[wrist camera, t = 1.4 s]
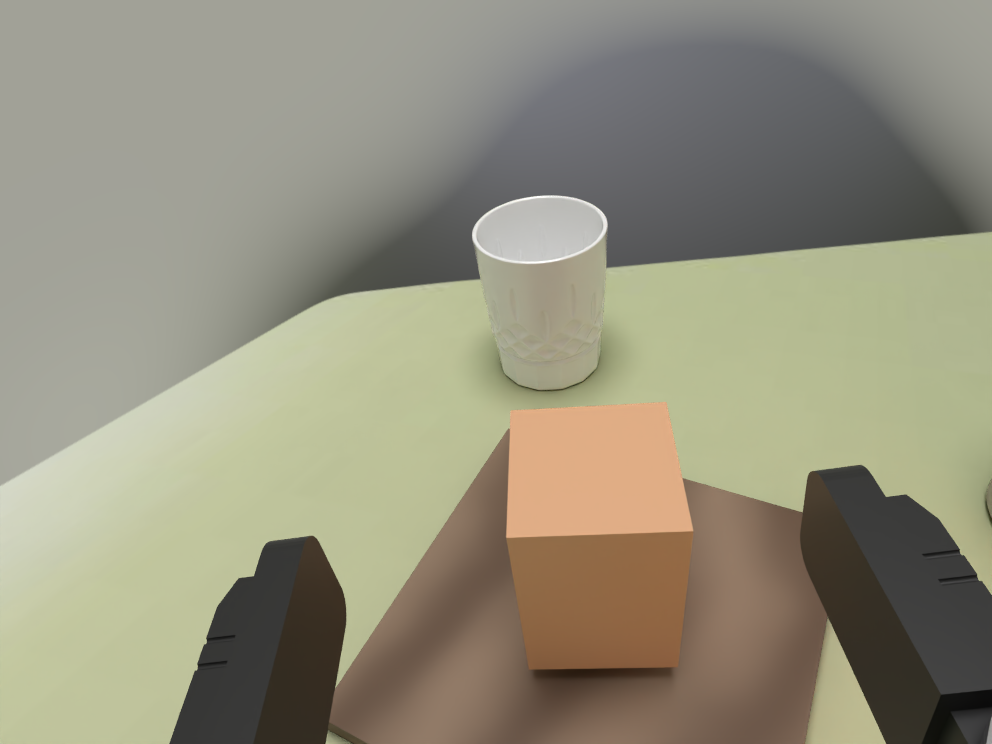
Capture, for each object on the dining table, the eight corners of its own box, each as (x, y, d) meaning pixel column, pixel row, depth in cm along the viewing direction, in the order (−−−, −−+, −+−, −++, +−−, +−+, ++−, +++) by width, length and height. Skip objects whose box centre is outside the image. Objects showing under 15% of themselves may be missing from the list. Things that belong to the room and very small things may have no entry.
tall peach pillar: (529, 669, 29) (506, 537, 23) (529, 546, 33) (510, 410, 27) (677, 667, 28) (693, 531, 22) (657, 542, 33) (666, 401, 27)
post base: (325, 728, 30) (242, 598, 23) (510, 442, 42) (490, 302, 35) (760, 969, 23) (819, 879, 16) (838, 539, 34) (891, 384, 27)
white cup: (599, 404, 43) (595, 266, 37) (477, 391, 45) (454, 259, 39) (616, 327, 49) (616, 196, 42) (508, 319, 51) (492, 193, 45)
